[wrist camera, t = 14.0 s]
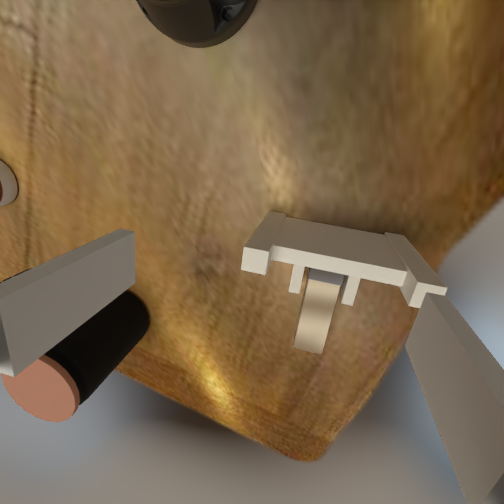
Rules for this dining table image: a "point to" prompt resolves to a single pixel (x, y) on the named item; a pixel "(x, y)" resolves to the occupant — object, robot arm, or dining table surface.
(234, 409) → the dining table surface
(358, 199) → the dining table surface
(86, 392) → the coffee jar
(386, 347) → the dining table surface
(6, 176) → the milk bottle
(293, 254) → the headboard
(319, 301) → the beige wooden block
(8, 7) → the dining table surface
